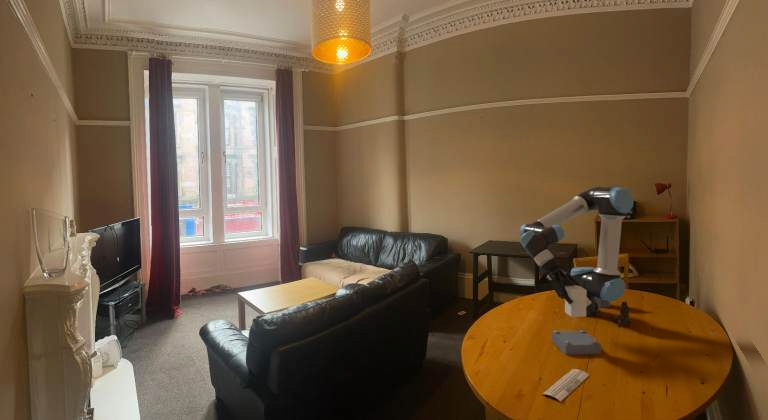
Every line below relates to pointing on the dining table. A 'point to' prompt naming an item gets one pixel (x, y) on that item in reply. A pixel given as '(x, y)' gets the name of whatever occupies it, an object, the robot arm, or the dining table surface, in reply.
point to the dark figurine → (623, 315)
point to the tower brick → (579, 297)
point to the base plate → (576, 342)
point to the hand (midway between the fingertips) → (583, 307)
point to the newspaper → (566, 384)
